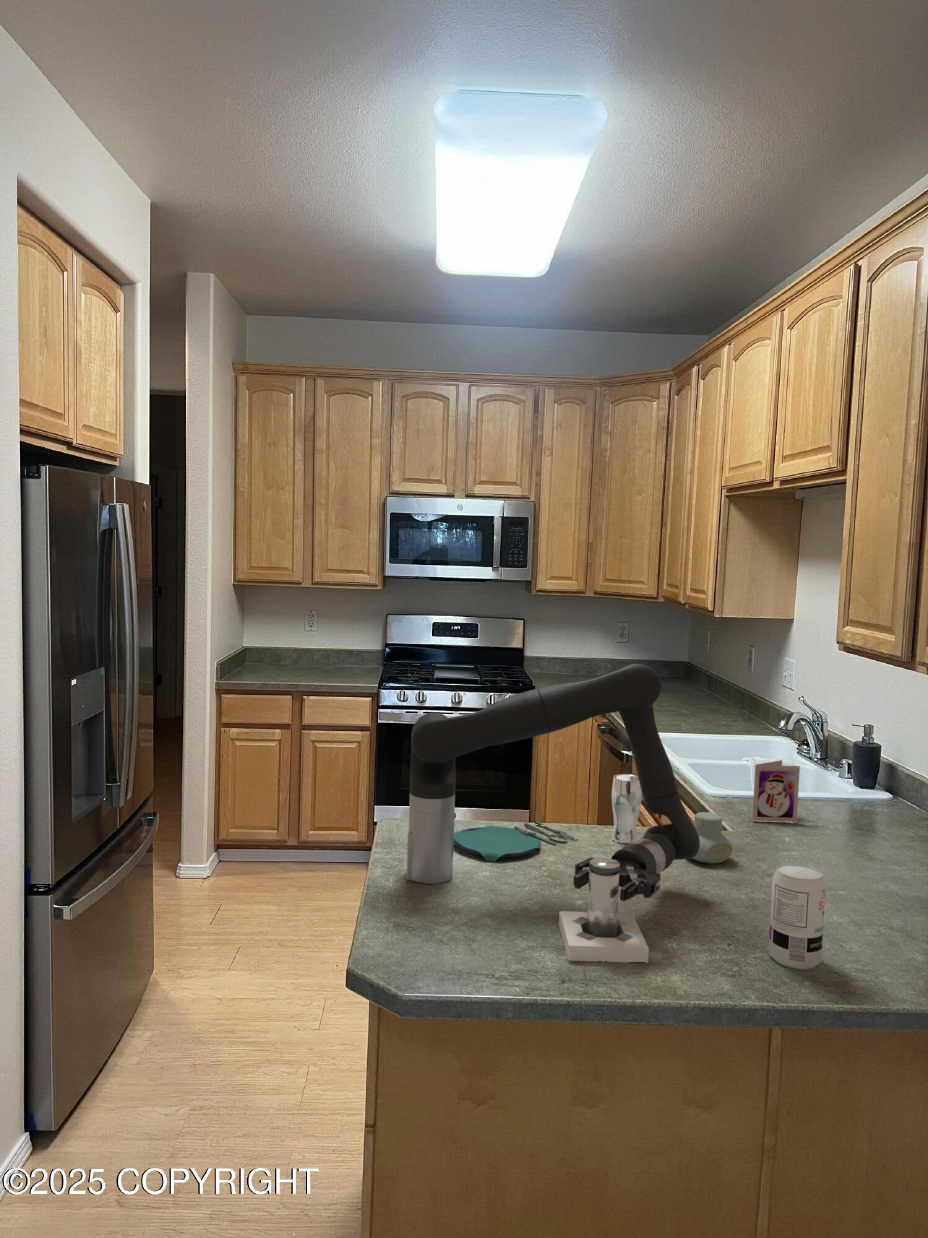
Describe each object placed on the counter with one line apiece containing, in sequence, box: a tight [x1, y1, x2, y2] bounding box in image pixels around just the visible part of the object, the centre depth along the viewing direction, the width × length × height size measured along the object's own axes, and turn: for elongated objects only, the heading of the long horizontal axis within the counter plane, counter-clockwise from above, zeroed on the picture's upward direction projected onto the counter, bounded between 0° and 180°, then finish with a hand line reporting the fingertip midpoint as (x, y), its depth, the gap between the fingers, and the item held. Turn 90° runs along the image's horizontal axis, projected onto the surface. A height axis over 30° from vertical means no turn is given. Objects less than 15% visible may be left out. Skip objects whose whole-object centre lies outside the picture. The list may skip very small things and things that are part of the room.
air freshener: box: [691, 811, 734, 865], centre depth 192 cm, size 11×8×10 cm
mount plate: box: [558, 910, 650, 964], centre depth 148 cm, size 13×14×2 cm
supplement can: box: [768, 863, 827, 970], centre depth 143 cm, size 8×8×15 cm
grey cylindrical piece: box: [587, 857, 620, 938], centre depth 147 cm, size 5×5×14 cm
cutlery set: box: [453, 820, 579, 863], centre depth 199 cm, size 20×30×2 cm, turn 126°
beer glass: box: [611, 773, 643, 845], centre depth 204 cm, size 7×7×15 cm
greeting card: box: [752, 759, 801, 823], centre depth 225 cm, size 11×7×15 cm, turn 90°
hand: (598, 889), depth 145 cm, fingers open, 8 cm apart
